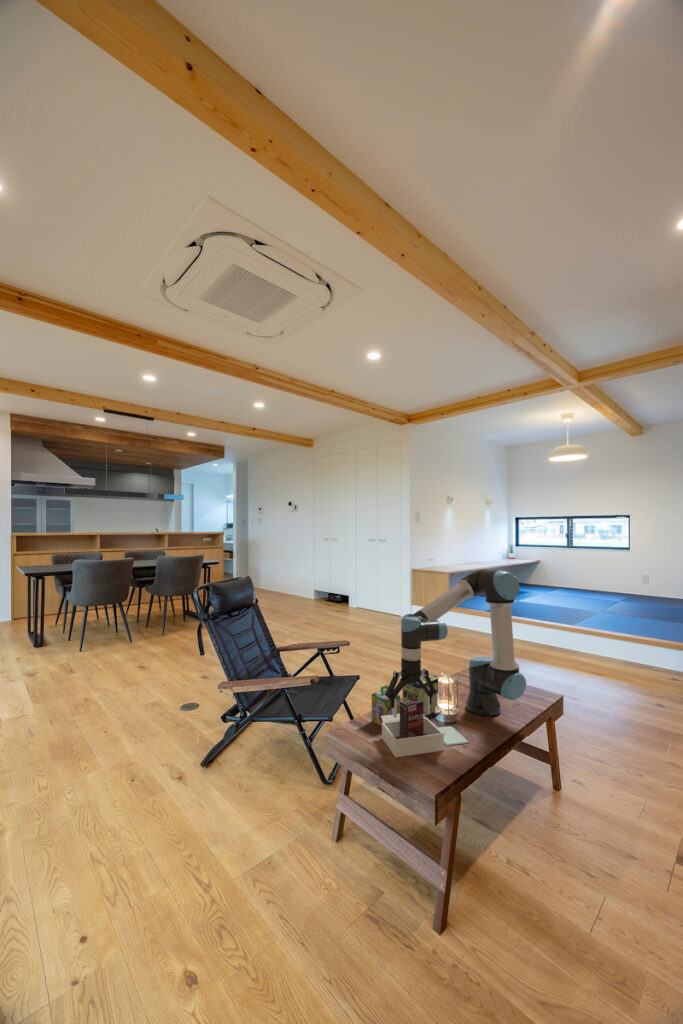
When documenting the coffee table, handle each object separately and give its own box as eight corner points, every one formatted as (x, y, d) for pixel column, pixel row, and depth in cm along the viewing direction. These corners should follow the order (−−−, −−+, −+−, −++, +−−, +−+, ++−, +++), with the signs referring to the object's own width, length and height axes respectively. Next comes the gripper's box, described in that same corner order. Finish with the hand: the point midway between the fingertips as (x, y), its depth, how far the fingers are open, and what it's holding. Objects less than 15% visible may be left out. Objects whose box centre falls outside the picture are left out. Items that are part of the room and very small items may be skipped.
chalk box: (386, 729, 166) (386, 692, 167) (370, 721, 173) (370, 686, 174) (401, 722, 171) (401, 687, 172) (385, 715, 178) (385, 681, 179)
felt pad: (451, 727, 167) (451, 726, 167) (468, 743, 154) (468, 741, 154) (431, 730, 165) (431, 728, 165) (447, 745, 152) (447, 744, 152)
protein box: (401, 713, 180) (401, 678, 181) (423, 704, 190) (423, 671, 191) (420, 721, 172) (419, 684, 173) (442, 711, 182) (441, 676, 183)
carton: (423, 729, 165) (423, 710, 166) (447, 754, 146) (447, 733, 147) (379, 734, 161) (379, 715, 161) (398, 761, 141) (398, 739, 142)
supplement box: (407, 750, 149) (407, 706, 150) (399, 744, 153) (398, 702, 154) (424, 743, 154) (424, 701, 155) (415, 738, 158) (415, 697, 159)
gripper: (435, 653, 162) (435, 707, 161) (377, 657, 156) (377, 713, 155) (444, 658, 155) (445, 715, 153) (384, 662, 149) (383, 721, 147)
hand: (410, 714), depth 154 cm, fingers open, 13 cm apart
